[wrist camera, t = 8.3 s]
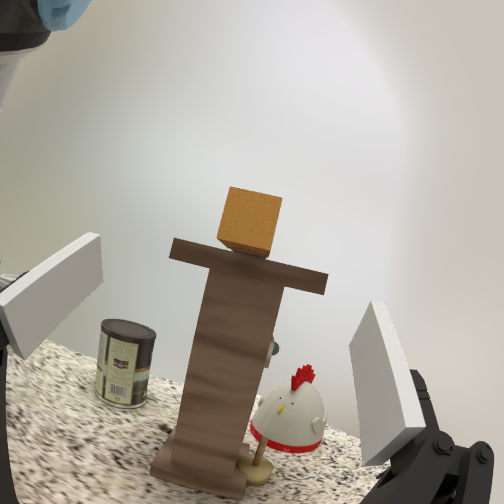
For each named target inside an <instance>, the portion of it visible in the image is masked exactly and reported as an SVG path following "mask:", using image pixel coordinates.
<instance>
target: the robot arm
mask: <svg viewBox="0 0 504 504" xmlns="http://www.w3.org/2000/svg"><path fill="white" fill-rule="evenodd" d="M90 1H91V0H0V115H1V113H2V109H3V106H4V103H5V100H6V97H7V94H8V91H9V88H10V85H11V82H12V80H13V77H14V74H15V72H16V70H17V67H18V65H19V62H20V60H21V59H22V58H23V57H25V56H27V55H29V54H30V53H32V52H34V51H36V50H37V49H39V48H41V47H42V46H43V45H44V44H45V42H46V41H47V38H48V37H49V35H50V33H51V31H58V30H66V29H68V28H69V27H71V26H72V25H73V24H74V23H75V22H76V21H77V20H78V19H79V17H80V16H81V15H82V14H83V13H84V11H85V10H86V8H87V7H88V5H89V3H90ZM0 263H1V252H0ZM101 283H103V271H102V259H101V242H100V235H99V234H94V233H91V232H88V233H86V234H85V235H83V236H81V237H80V238H78V239H77V240H75V241H73V242H72V243H70V244H69V245H67V246H66V247H64V248H63V249H61V250H60V251H58V252H57V253H55V254H54V255H52V256H51V257H49V258H48V259H47V260H45V261H43V262H42V263H41V264H39V265H38V266H36V267H35V268H33V269H32V270H30V271H27V272H25V273H23V274H22V275H20V276H19V277H17V278H16V280H13V281H12V282H11V283H10V285H9V284H8V285H7V286H5V287H4V288H3V289H2V290H0V504H20V503H19V502H18V500H17V497H16V494H15V489H14V484H13V479H12V473H11V467H10V460H9V452H8V443H7V430H6V402H5V398H6V369H7V356H8V351H7V348H6V346H7V345H8V344H9V343H10V345H11V347H12V349H13V351H14V353H15V354H16V355H18V356H19V357H21V358H22V359H23V360H26V359H27V358H28V357H29V356H30V355H31V354H32V352H33V351H34V350H35V349H36V348H37V347H38V346H39V345H40V344H41V343H42V342H43V341H44V340H45V339H46V338H47V336H48V335H49V334H50V333H51V332H52V331H53V330H54V329H55V328H56V327H57V326H58V325H59V324H60V323H61V322H62V321H63V320H64V319H65V318H66V317H67V316H68V315H69V314H70V313H71V312H72V311H73V310H74V309H75V308H76V307H77V306H78V305H79V304H80V303H81V302H83V301H84V300H85V299H86V298H87V297H88V296H89V295H90V294H91V293H92V292H93V291H94V290H95V289H96V288H97V287H98V286H99V285H100V284H101ZM349 348H350V355H351V362H352V368H353V375H354V383H355V390H356V399H357V406H358V407H357V408H358V417H359V427H360V438H361V451H362V466H381V465H382V464H384V463H385V462H386V461H387V460H389V459H390V463H391V466H390V467H389V468H388V469H386V470H385V471H384V472H382V473H381V474H379V475H378V476H377V477H376V479H379V478H380V477H381V478H380V479H379V480H378V482H377V483H376V484H375V486H374V487H373V488H372V489H371V491H370V492H369V493H368V494H367V495H366V497H365V498H364V499H363V500H362V501H361V502H360V503H359V504H489V500H490V494H491V486H492V477H493V468H494V453H493V451H492V448H491V447H490V446H489V445H488V444H487V443H485V442H483V441H479V442H476V443H475V444H473V445H472V446H471V447H470V448H465V447H460V446H457V445H455V444H454V442H453V440H452V438H451V437H450V436H449V435H448V434H447V433H445V432H443V431H440V430H439V426H438V423H437V419H436V416H435V413H434V409H433V406H432V403H431V400H430V397H429V394H428V392H427V387H426V384H425V381H424V379H423V378H422V376H421V375H420V374H419V372H418V371H417V370H410V369H409V367H408V364H407V361H406V358H405V355H404V352H403V349H402V347H401V344H400V341H399V338H398V335H397V333H396V330H395V327H394V325H393V322H392V320H391V317H390V315H389V312H388V309H387V307H386V304H383V303H379V302H373V301H370V304H369V306H368V308H367V310H366V312H365V314H364V316H363V318H362V321H361V323H360V325H359V327H358V329H357V331H356V333H355V335H354V337H353V339H352V341H351V343H350V345H349ZM455 491H456V493H455Z"/></svg>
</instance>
